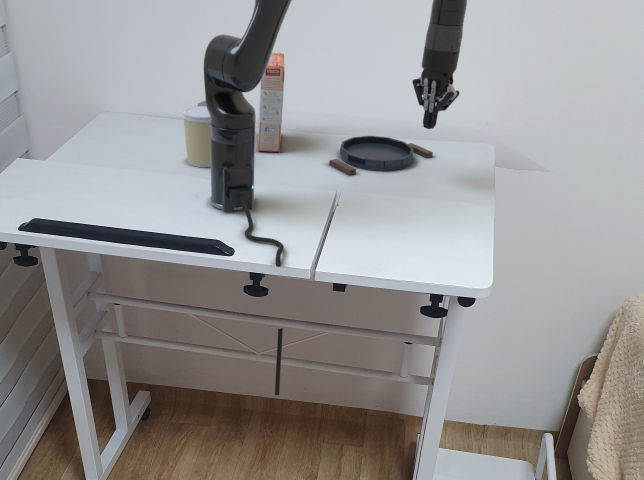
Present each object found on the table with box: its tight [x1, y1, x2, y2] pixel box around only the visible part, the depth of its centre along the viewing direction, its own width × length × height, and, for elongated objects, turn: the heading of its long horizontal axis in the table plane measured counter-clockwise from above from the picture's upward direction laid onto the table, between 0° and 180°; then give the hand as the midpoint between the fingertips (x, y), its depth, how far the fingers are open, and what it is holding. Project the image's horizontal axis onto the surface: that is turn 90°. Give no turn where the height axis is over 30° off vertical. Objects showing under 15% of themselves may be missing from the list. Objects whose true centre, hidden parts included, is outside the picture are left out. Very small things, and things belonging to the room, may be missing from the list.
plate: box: [339, 135, 414, 172], centre depth 181 cm, size 18×18×3 cm
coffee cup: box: [182, 105, 211, 168], centre depth 173 cm, size 9×9×12 cm
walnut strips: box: [328, 142, 434, 176], centre depth 180 cm, size 8×27×1 cm, turn 123°
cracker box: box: [257, 52, 286, 153], centre depth 182 cm, size 14×6×21 cm, turn 179°
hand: (428, 127), depth 164 cm, fingers closed
